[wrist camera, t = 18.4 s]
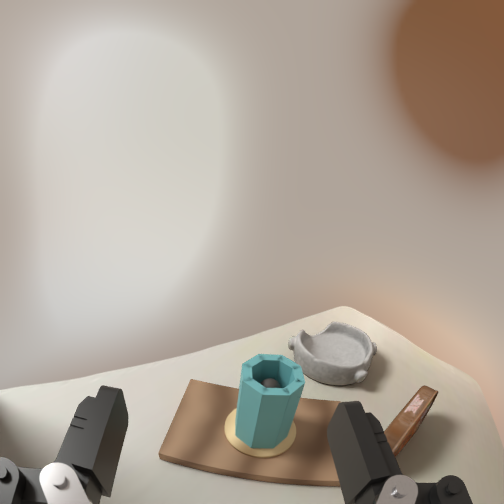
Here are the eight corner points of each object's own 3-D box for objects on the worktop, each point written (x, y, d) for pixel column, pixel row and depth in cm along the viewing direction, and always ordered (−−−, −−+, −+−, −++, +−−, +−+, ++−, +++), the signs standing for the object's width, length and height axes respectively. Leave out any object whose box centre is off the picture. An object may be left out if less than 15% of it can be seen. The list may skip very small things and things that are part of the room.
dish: (276, 361, 50) (280, 338, 48) (320, 332, 60) (325, 311, 58) (347, 404, 41) (357, 381, 39) (381, 363, 51) (390, 342, 49)
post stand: (159, 458, 29) (148, 405, 25) (191, 385, 42) (190, 328, 38) (343, 486, 27) (377, 438, 23) (337, 407, 40) (359, 353, 36)
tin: (372, 482, 27) (401, 446, 24) (354, 469, 29) (379, 432, 26) (423, 421, 36) (447, 382, 33) (408, 412, 39) (430, 373, 36)
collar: (235, 447, 30) (242, 393, 27) (235, 409, 36) (242, 352, 33) (289, 448, 31) (308, 395, 27) (283, 410, 37) (298, 355, 33)
